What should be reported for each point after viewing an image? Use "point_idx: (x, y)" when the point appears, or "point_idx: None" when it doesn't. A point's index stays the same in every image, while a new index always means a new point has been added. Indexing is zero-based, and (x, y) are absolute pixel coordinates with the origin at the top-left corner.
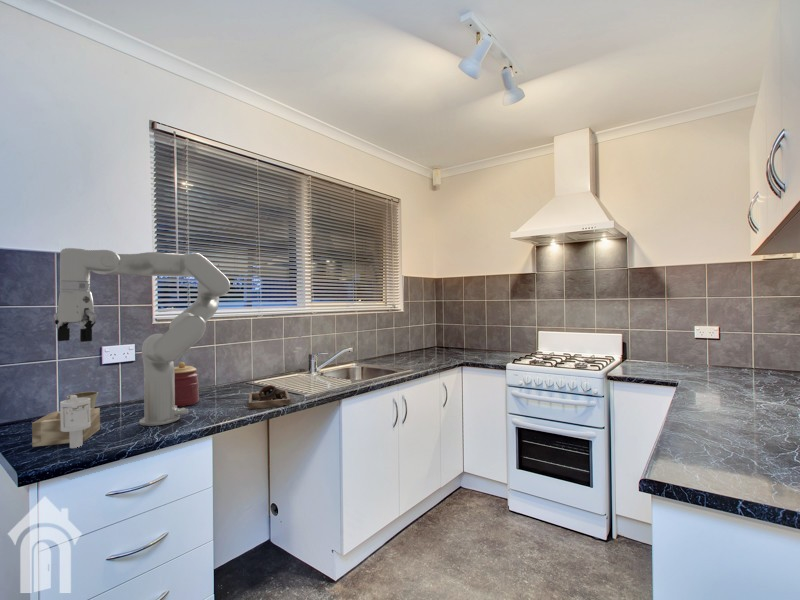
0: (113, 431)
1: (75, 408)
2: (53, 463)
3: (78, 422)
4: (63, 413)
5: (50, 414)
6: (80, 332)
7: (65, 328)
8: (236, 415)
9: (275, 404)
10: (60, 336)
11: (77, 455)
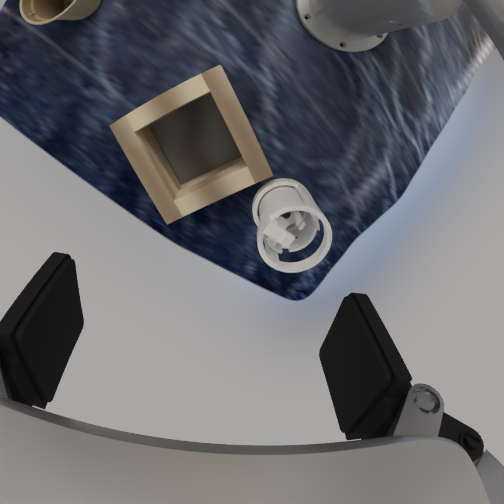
0: (279, 86)
1: (69, 17)
2: None
3: (304, 226)
4: (147, 124)
5: (130, 150)
6: (339, 413)
7: (26, 369)
8: None
9: None
10: (72, 346)
11: (320, 235)
